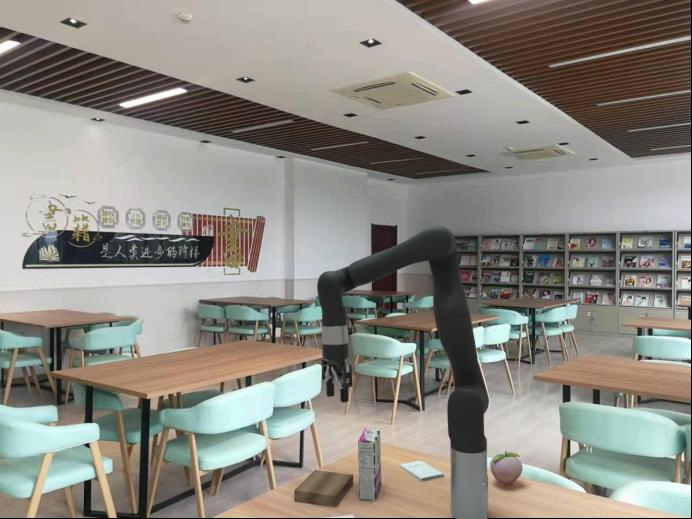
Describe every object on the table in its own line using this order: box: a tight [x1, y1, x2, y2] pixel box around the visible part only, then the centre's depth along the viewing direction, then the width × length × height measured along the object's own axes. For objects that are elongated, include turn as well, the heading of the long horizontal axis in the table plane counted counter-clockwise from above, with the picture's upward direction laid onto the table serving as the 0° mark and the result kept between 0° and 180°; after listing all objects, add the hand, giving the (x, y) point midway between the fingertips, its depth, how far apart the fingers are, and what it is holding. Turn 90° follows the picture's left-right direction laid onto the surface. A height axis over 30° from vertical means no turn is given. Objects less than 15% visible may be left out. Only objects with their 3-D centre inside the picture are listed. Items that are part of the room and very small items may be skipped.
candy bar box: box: [357, 427, 382, 502], centre depth 153 cm, size 11×5×16 cm, turn 168°
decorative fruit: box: [489, 450, 524, 486], centre depth 157 cm, size 9×8×10 cm
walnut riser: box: [293, 469, 354, 508], centre depth 152 cm, size 12×15×3 cm
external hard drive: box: [399, 460, 445, 482], centre depth 167 cm, size 2×8×12 cm
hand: (337, 399), depth 152 cm, fingers open, 8 cm apart
